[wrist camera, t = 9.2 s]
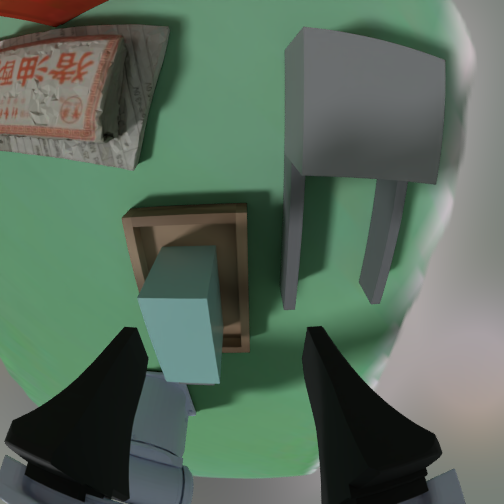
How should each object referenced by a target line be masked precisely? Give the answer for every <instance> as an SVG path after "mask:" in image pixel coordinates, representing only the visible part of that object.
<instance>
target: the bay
mask: <svg viewBox="0 0 504 504" xmlns="http://www.w3.org/2000/svg"><path fill="white" fill-rule="evenodd" d="M444 111H445V60H443V59H441V58H438V57H435V56H433V55H430V54H427V53H424V52H421V51H418V50H415V49H412V48H409V47H405V46H402V45H398V44H395V43H391V42H387V41H383V40H379V39H375V38H371V37H366V36H361V35H356V34H351V33H346V32H340V31H333V30H326V29H318V28H309V27H303V28H302V29H301V30H300V32H299V33H298V34H297V35H296V37H295V38H294V39H293V40H292V42H291V43H290V44H289V45H288V47H287V48H286V49H285V151H284V193H283V223H282V248H281V269H280V290H281V296H282V302H283V308H284V310H295V304H296V294H297V284H298V273H299V262H300V250H301V237H302V223H303V208H304V191H305V176H333V177H354V178H370V179H377V183H376V190H375V198H374V204H373V211H372V217H371V223H370V229H369V235H368V240H367V246H366V251H365V256H364V261H363V266H362V270H361V275H360V279H359V283H360V285H361V287H362V289H363V291H364V292H365V294H366V296H367V298H368V300H369V302H370V304H380V301H381V298H382V295H383V291H384V288H385V285H386V281H387V277H388V274H389V270H390V266H391V262H392V258H393V254H394V250H395V246H396V242H397V237H398V233H399V228H400V223H401V218H402V213H403V208H404V202H405V197H406V191H407V184H408V182H417V183H426V184H435V185H436V182H437V175H438V169H439V162H440V155H441V146H442V137H443V126H444Z"/></svg>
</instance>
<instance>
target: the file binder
mask: <svg viewBox="0 0 504 504" xmlns="http://www.w3.org/2000/svg"><path fill="white" fill-rule="evenodd" d="M106 1H108V0H0V16H4V17H10V18H16V19H22V20H27V21H32V22H37V23H41V24H45V25H49V26H53V27H57V26H59V25H60V24H64V23H66V22H67V21H69V20H71V19H73V18H74V17H76V16H78V15H80V14H82V13H84V12H86V11H87V10H89V9H91V8H93V7H95V6H97V5H100V4H102V3H104V2H106Z"/></svg>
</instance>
